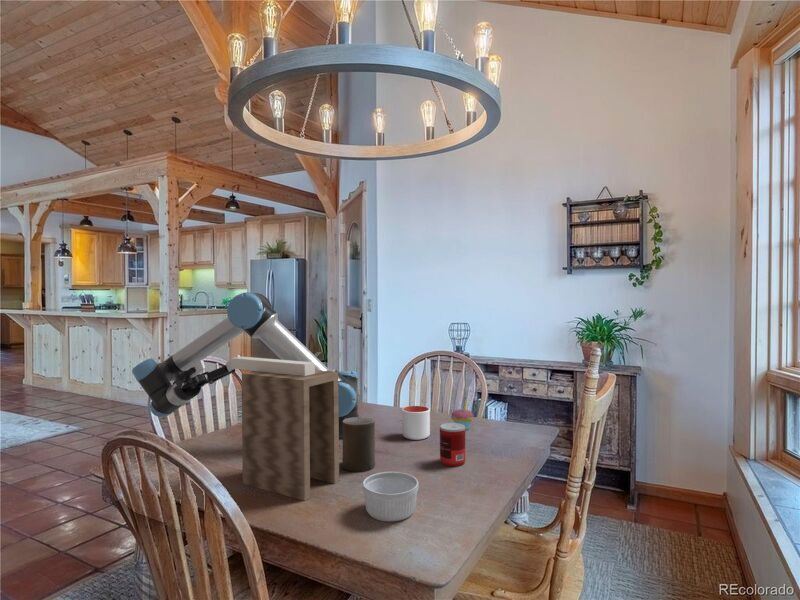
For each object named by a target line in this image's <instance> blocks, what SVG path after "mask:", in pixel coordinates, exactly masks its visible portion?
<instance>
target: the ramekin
mask: <svg viewBox="0 0 800 600" xmlns="http://www.w3.org/2000/svg"><path fill="white" fill-rule="evenodd" d="M362 491H363V496H364V497H363V498H364V505H365V509H366V512H367V513H368V514H369V515H370V517H372V518H373V519H375V520H378V521H381V522H393V523H394V522H399V521H403V520H405V519H408V518H410V517H411V516H412V515H413V513H414V512H415V510H416V506H417V498H418V491H419V481H418V479H417V478H416V477H415V476H414V475H412V474H409V473H406V472H401V471H383V472H377V473H374V474H371V475H369V476H367V477H366V478H365V479H363V481H362Z"/></svg>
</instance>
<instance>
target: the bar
mask: <svg viewBox="0 0 800 600" xmlns="http://www.w3.org/2000/svg"><path fill="white" fill-rule="evenodd" d="M230 361H231V368H232V369H235V370H244V371H251V372H252V371H262V372H272V373H282V374H291V375H301V376H306V375H311V374H315V362H303V361H291V360H281V359H277V358H276V359H275V358H263V357H251V356H240V357H236V356H235V357H230Z"/></svg>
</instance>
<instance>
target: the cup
mask: <svg viewBox="0 0 800 600" xmlns="http://www.w3.org/2000/svg"><path fill="white" fill-rule="evenodd" d="M401 429H402V430H401V433H402V436H403V437H404V438H406V439H408V440H412V441H413V440H414V441H417V440H419V441H420V440H425V439H427V438H429V437H430V435H431V409H430V407H427V406H424V405H409V406H405V407H402V408H401Z"/></svg>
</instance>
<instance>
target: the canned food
mask: <svg viewBox="0 0 800 600" xmlns="http://www.w3.org/2000/svg"><path fill="white" fill-rule="evenodd" d="M439 461H440V463H441V464H442V465H443V466H445V467H461V466H463V465H464V464H465V462H466V430H465V426H464V425H462V424H459V423H455V422H446V423H442V424H441V425H439Z"/></svg>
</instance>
